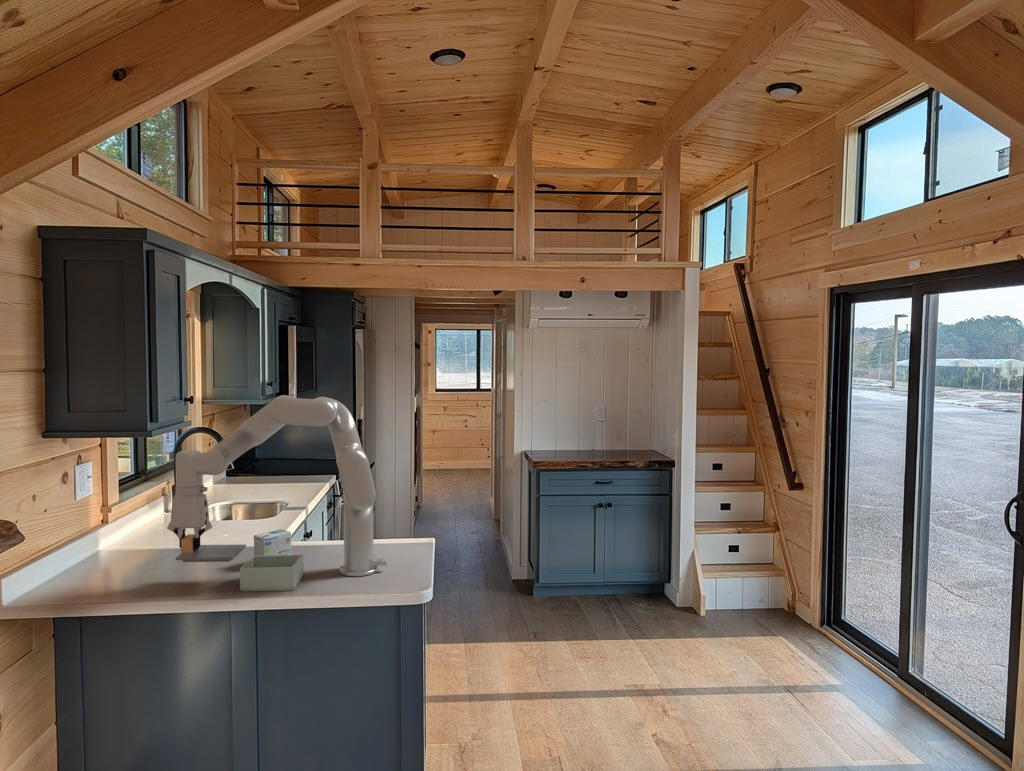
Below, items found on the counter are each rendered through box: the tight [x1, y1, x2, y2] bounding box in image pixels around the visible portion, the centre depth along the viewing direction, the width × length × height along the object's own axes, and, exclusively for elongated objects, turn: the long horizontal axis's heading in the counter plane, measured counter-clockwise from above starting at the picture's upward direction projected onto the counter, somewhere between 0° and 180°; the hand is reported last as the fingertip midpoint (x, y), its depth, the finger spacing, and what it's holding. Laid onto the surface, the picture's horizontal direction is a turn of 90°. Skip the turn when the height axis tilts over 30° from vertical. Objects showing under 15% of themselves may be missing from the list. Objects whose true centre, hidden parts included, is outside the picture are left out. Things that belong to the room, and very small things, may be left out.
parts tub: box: [239, 554, 304, 592], centre depth 217 cm, size 16×13×8 cm
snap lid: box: [175, 533, 247, 563], centre depth 215 cm, size 16×14×6 cm
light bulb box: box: [253, 528, 292, 556], centre depth 236 cm, size 11×7×11 cm, turn 141°
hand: (190, 549), depth 214 cm, fingers closed on snap lid, 3 cm apart
